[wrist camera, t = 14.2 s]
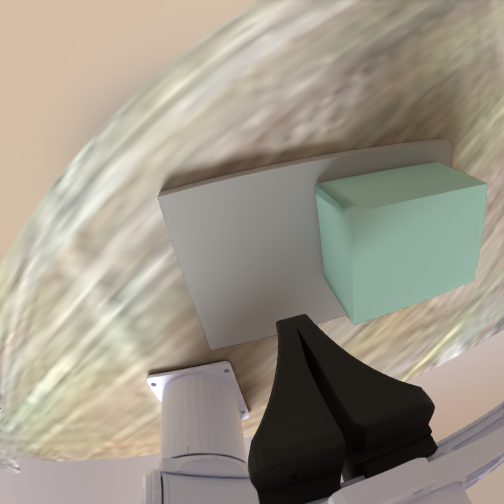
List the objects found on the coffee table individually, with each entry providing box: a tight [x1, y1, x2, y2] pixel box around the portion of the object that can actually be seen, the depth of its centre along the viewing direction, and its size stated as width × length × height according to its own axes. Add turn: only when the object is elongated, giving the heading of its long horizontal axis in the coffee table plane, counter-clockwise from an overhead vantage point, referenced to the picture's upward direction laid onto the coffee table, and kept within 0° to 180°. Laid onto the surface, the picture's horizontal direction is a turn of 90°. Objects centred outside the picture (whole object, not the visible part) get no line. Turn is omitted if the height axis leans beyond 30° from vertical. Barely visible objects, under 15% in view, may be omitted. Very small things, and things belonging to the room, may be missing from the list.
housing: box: [315, 162, 487, 325], centre depth 19 cm, size 7×10×5 cm
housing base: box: [157, 139, 452, 350], centre depth 22 cm, size 13×22×4 cm, turn 101°
